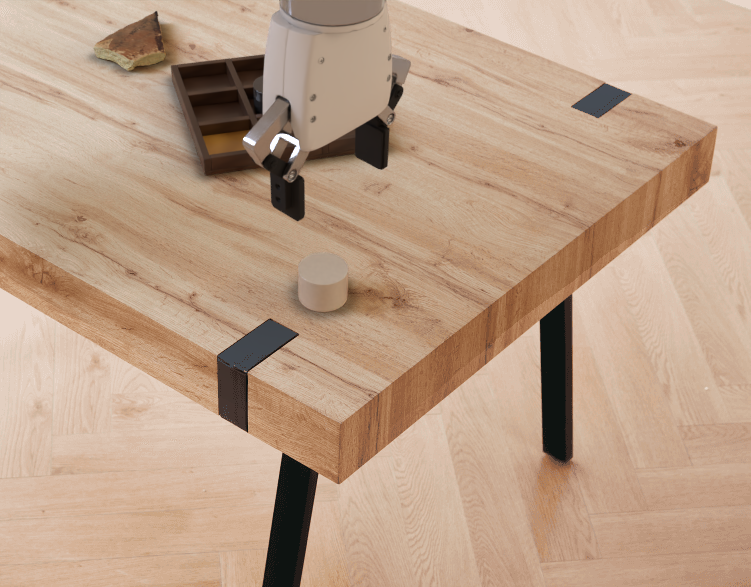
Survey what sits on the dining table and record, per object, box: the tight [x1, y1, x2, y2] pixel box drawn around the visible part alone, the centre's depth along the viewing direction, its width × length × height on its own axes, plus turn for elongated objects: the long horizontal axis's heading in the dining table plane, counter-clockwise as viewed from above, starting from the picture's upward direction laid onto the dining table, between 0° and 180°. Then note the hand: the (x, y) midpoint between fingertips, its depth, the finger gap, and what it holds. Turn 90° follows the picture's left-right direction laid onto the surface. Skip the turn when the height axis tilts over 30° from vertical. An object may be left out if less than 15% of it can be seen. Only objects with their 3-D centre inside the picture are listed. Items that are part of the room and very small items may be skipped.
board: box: [170, 53, 355, 176], centre depth 117 cm, size 19×19×2 cm
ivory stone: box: [297, 251, 350, 313], centre depth 94 cm, size 4×4×3 cm
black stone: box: [253, 76, 263, 115], centre depth 116 cm, size 4×4×3 cm
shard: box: [93, 10, 167, 72], centre depth 126 cm, size 11×8×2 cm
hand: (330, 186), depth 87 cm, fingers open, 9 cm apart
